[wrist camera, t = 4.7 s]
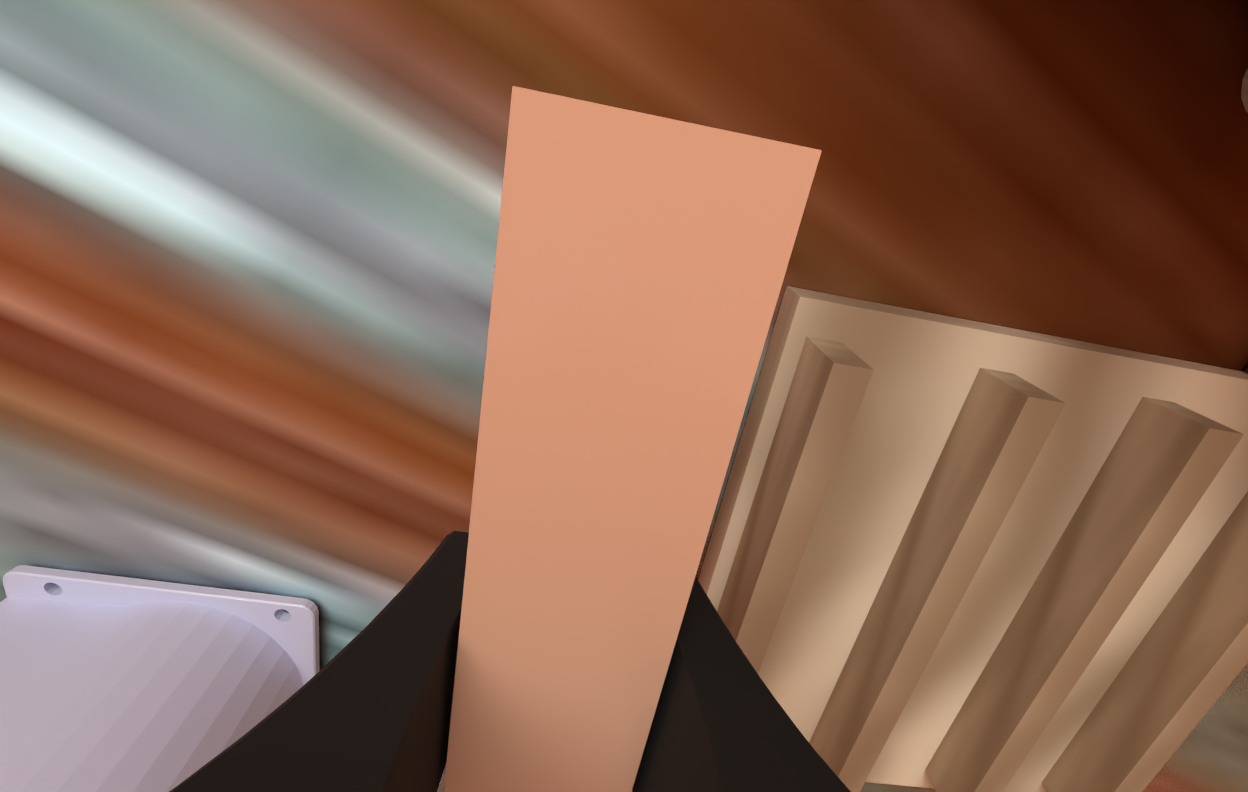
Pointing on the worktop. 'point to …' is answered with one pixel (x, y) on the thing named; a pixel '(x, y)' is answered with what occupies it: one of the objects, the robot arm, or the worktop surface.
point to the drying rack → (984, 548)
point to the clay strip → (606, 425)
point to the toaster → (1245, 90)
